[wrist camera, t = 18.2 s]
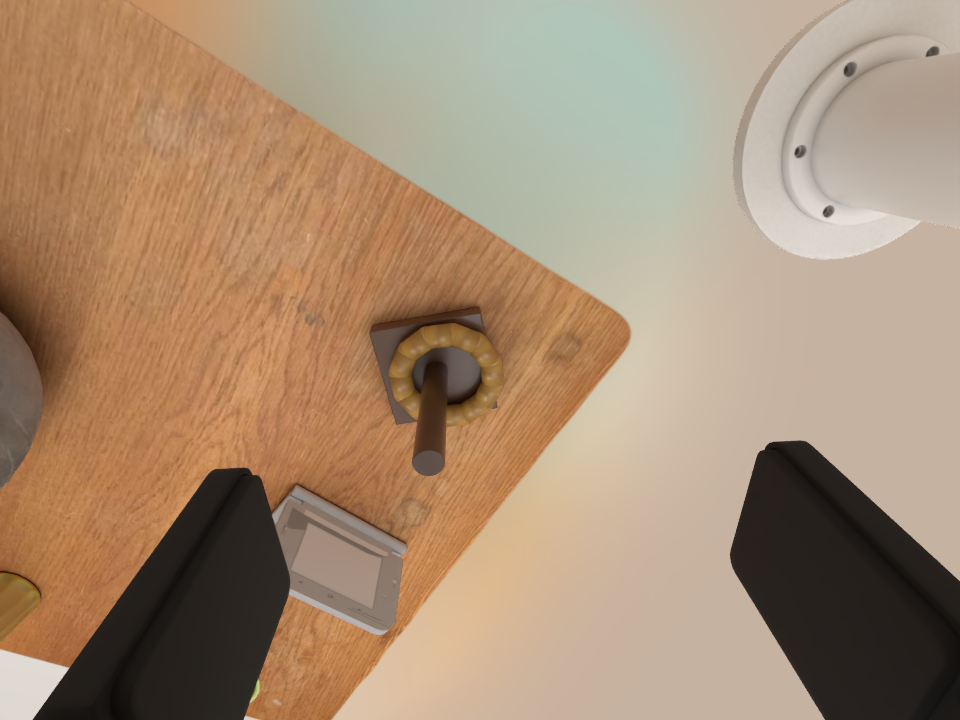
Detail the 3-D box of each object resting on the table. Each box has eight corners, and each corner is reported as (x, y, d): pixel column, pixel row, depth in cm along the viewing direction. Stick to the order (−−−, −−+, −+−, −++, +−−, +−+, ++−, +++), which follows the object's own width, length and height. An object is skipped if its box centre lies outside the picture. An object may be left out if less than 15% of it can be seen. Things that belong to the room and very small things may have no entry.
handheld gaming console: (251, 537, 49) (205, 629, 40) (298, 482, 46) (259, 568, 37) (358, 590, 53) (338, 684, 44) (408, 543, 50) (397, 633, 42)
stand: (479, 306, 39) (489, 388, 27) (496, 399, 43) (511, 507, 31) (371, 325, 40) (334, 414, 27) (398, 415, 44) (375, 528, 31)
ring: (496, 313, 38) (498, 322, 36) (507, 411, 42) (509, 423, 40) (381, 328, 38) (377, 337, 36) (403, 424, 42) (400, 436, 41)
